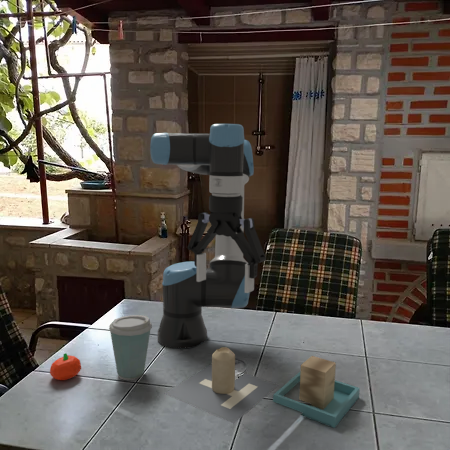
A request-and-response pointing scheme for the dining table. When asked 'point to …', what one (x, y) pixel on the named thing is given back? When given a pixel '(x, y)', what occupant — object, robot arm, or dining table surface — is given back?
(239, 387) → the board
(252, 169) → the robot arm
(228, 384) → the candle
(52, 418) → the dining table surface
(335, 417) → the tray
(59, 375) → the pumpkin
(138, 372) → the disposable coffee cup
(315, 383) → the wooden block
